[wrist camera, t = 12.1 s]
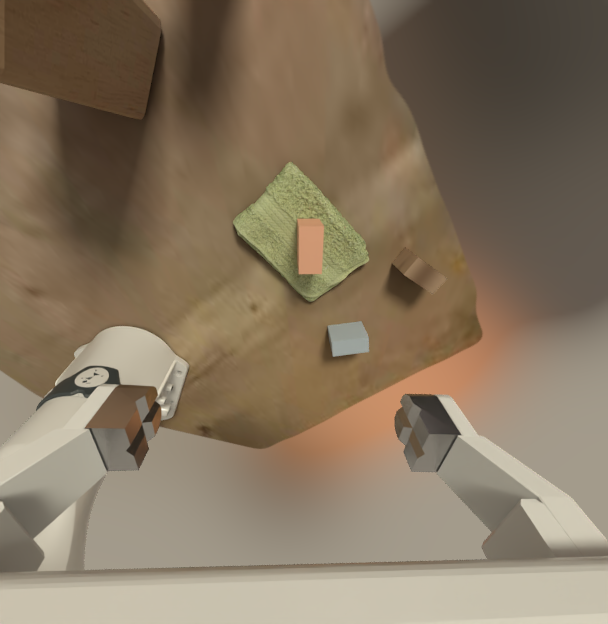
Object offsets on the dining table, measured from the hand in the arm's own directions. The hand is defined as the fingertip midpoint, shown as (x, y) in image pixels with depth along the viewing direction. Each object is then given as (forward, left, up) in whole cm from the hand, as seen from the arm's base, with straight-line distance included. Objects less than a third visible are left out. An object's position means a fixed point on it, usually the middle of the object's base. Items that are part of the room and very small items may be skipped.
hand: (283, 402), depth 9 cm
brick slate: (-17, -14, -34) cm, 41 cm away
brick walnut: (-3, -21, -34) cm, 40 cm away
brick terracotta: (-2, -3, -32) cm, 32 cm away
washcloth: (-3, -3, -35) cm, 35 cm away
